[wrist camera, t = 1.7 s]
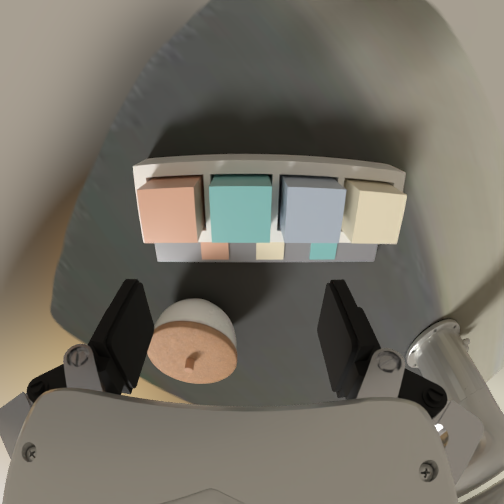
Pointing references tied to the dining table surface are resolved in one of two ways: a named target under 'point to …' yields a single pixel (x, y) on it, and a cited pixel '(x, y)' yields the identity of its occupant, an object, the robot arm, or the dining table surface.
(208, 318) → the lidded jar
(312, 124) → the dining table surface
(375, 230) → the key
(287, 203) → the key
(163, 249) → the keypad
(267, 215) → the key
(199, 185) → the key
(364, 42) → the dining table surface
